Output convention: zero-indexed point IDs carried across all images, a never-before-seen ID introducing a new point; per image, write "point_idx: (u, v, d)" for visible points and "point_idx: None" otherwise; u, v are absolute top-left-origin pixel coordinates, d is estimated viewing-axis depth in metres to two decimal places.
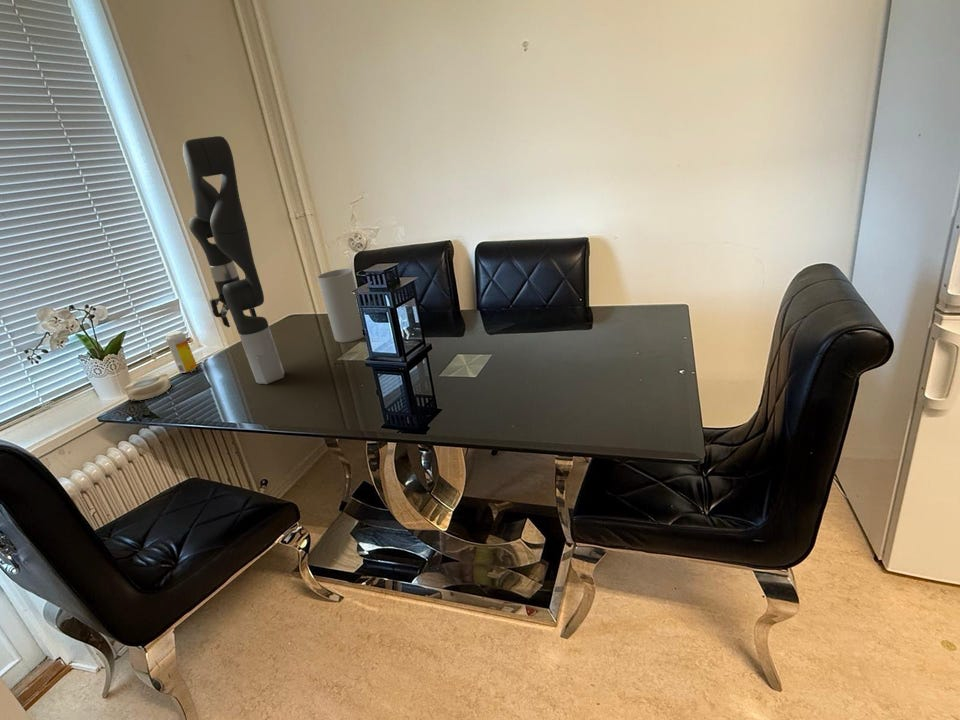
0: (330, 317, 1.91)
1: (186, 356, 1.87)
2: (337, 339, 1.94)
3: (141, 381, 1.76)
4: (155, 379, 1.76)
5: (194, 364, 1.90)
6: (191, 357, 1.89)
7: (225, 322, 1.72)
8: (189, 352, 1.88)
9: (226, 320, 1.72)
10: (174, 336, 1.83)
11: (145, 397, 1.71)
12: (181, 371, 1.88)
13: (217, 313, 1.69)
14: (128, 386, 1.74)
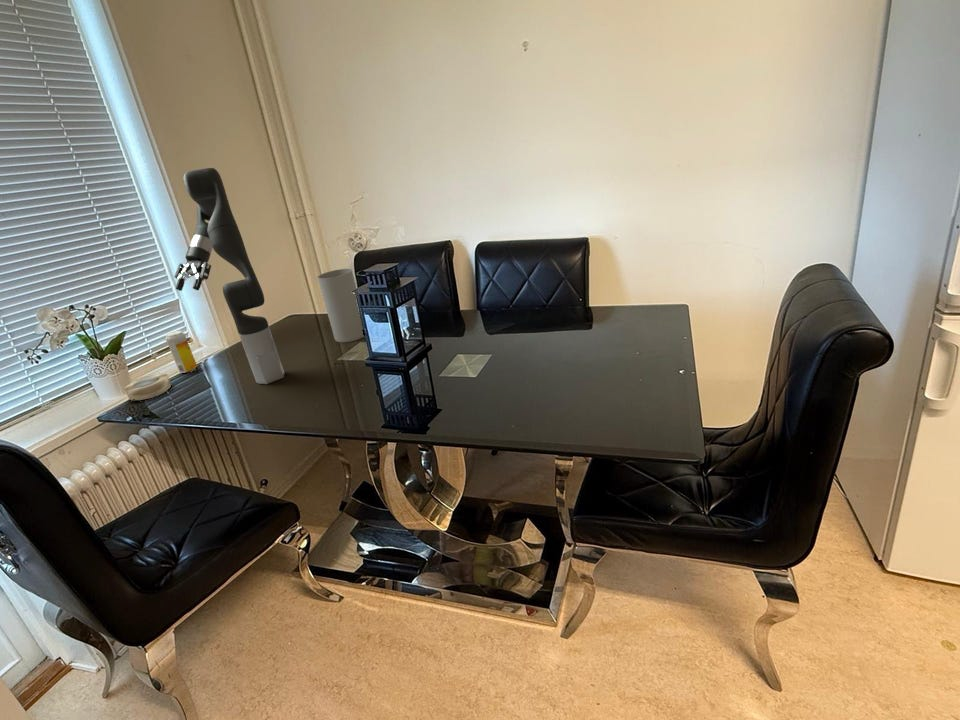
0: (330, 317, 1.91)
1: (186, 356, 1.87)
2: (337, 339, 1.94)
3: (141, 381, 1.76)
4: (155, 379, 1.76)
5: (194, 364, 1.90)
6: (191, 357, 1.89)
7: (177, 284, 1.92)
8: (189, 352, 1.88)
9: (178, 282, 1.91)
10: (174, 336, 1.83)
11: (145, 397, 1.71)
12: (181, 371, 1.88)
13: (176, 274, 1.93)
14: (128, 386, 1.74)
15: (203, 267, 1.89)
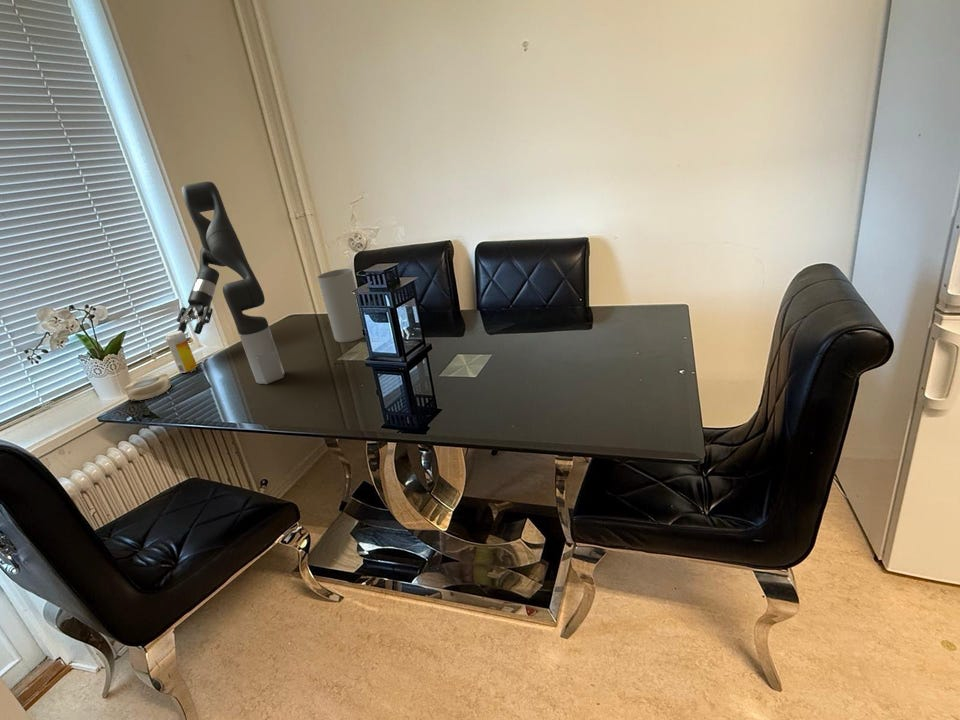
0: (330, 317, 1.91)
1: (186, 356, 1.87)
2: (337, 339, 1.94)
3: (141, 381, 1.76)
4: (155, 379, 1.76)
5: (194, 364, 1.90)
6: (191, 357, 1.89)
7: (179, 327, 1.93)
8: (189, 352, 1.88)
9: (180, 326, 1.92)
10: (174, 336, 1.83)
11: (145, 397, 1.71)
12: (181, 371, 1.88)
13: (178, 318, 1.94)
14: (128, 386, 1.74)
15: (205, 311, 1.90)
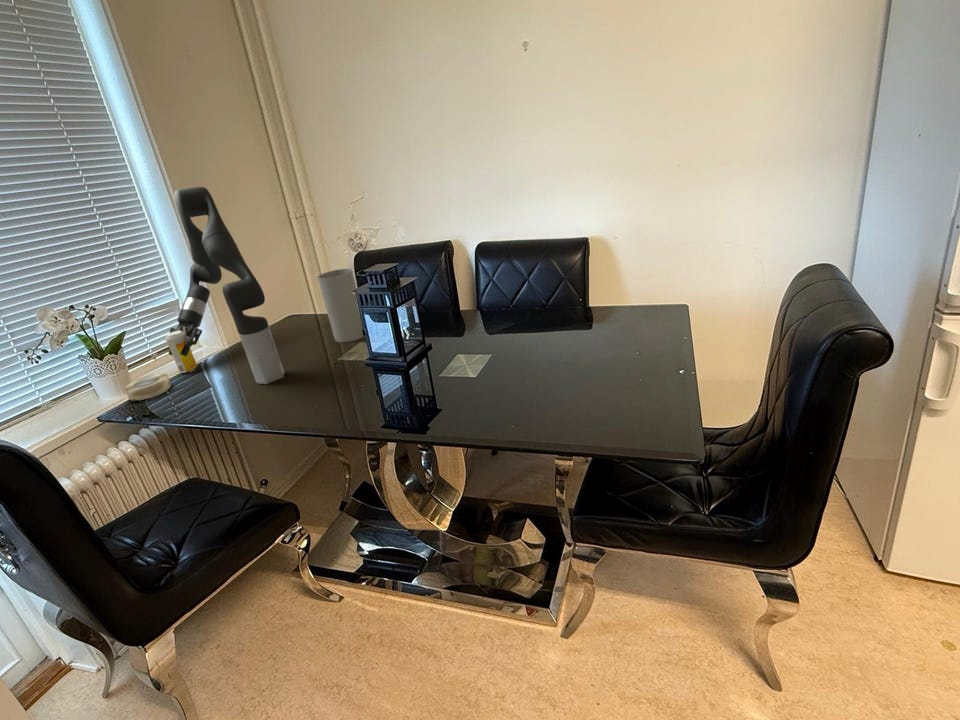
0: (330, 317, 1.91)
1: (187, 356, 1.87)
2: (337, 339, 1.94)
3: (141, 381, 1.76)
4: (155, 379, 1.76)
5: (194, 364, 1.90)
6: (191, 357, 1.89)
7: None
8: (189, 352, 1.88)
9: None
10: (174, 336, 1.83)
11: (145, 397, 1.71)
12: (181, 371, 1.88)
13: None
14: (128, 386, 1.74)
15: (193, 333, 1.86)
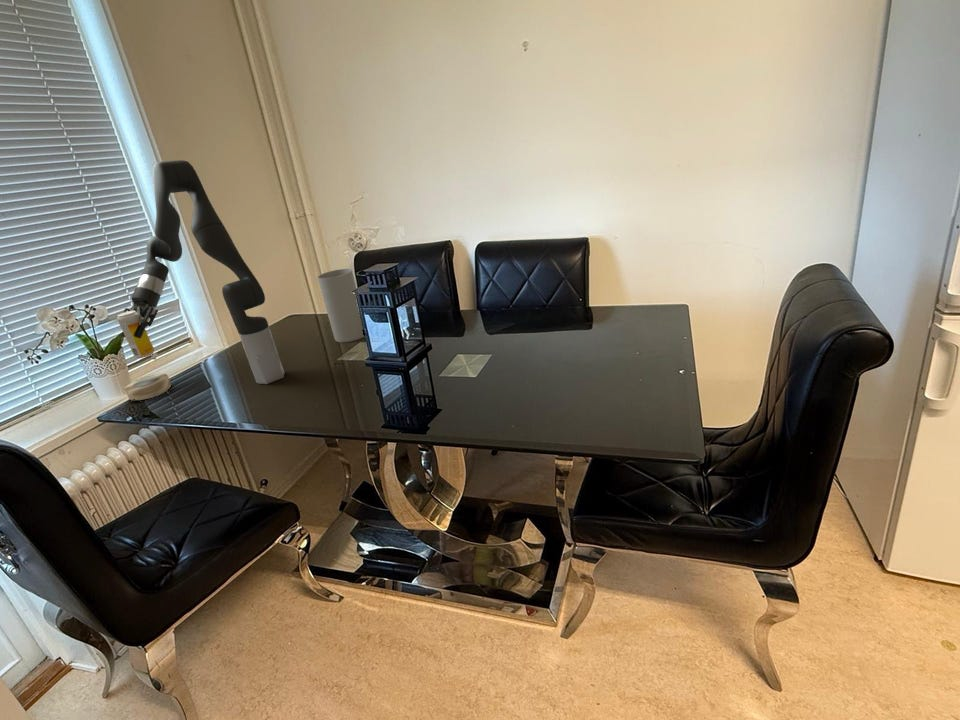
0: (330, 317, 1.91)
1: (141, 338, 1.71)
2: (337, 339, 1.94)
3: (141, 381, 1.76)
4: (155, 379, 1.76)
5: (150, 347, 1.74)
6: (147, 339, 1.73)
7: None
8: (144, 334, 1.72)
9: None
10: (126, 316, 1.67)
11: (145, 397, 1.71)
12: (135, 355, 1.72)
13: None
14: (128, 386, 1.74)
15: (147, 313, 1.70)
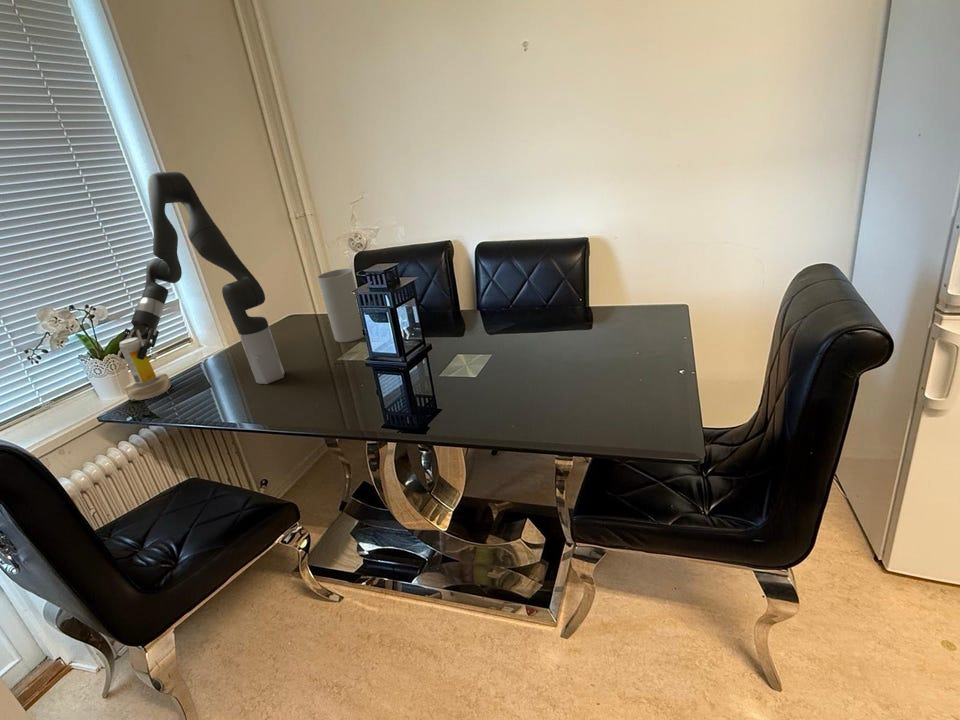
0: (330, 317, 1.91)
1: (143, 365, 1.71)
2: (337, 339, 1.94)
3: None
4: (155, 379, 1.76)
5: (152, 374, 1.74)
6: (148, 366, 1.73)
7: (121, 352, 1.72)
8: (146, 361, 1.72)
9: None
10: (128, 343, 1.68)
11: (145, 397, 1.71)
12: (137, 381, 1.72)
13: None
14: (128, 386, 1.74)
15: (149, 334, 1.70)
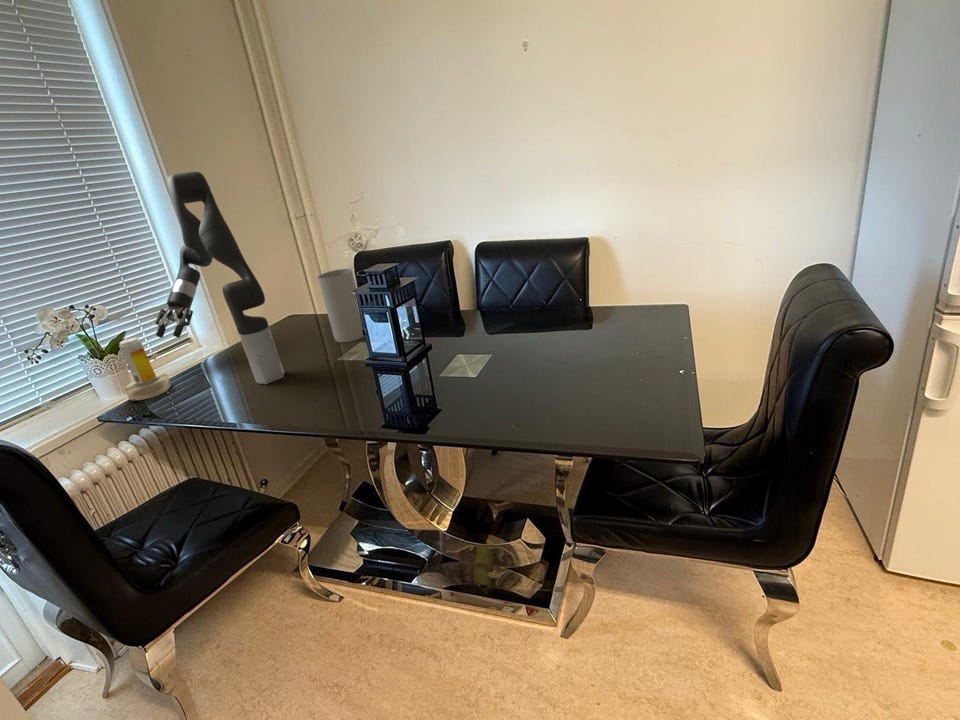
0: (330, 317, 1.91)
1: (143, 365, 1.71)
2: (337, 339, 1.94)
3: None
4: (155, 379, 1.76)
5: (152, 374, 1.74)
6: (148, 366, 1.73)
7: (157, 330, 1.84)
8: (146, 361, 1.72)
9: (158, 329, 1.84)
10: (128, 343, 1.68)
11: (145, 397, 1.71)
12: (137, 381, 1.72)
13: (157, 320, 1.85)
14: (128, 386, 1.74)
15: (185, 313, 1.81)
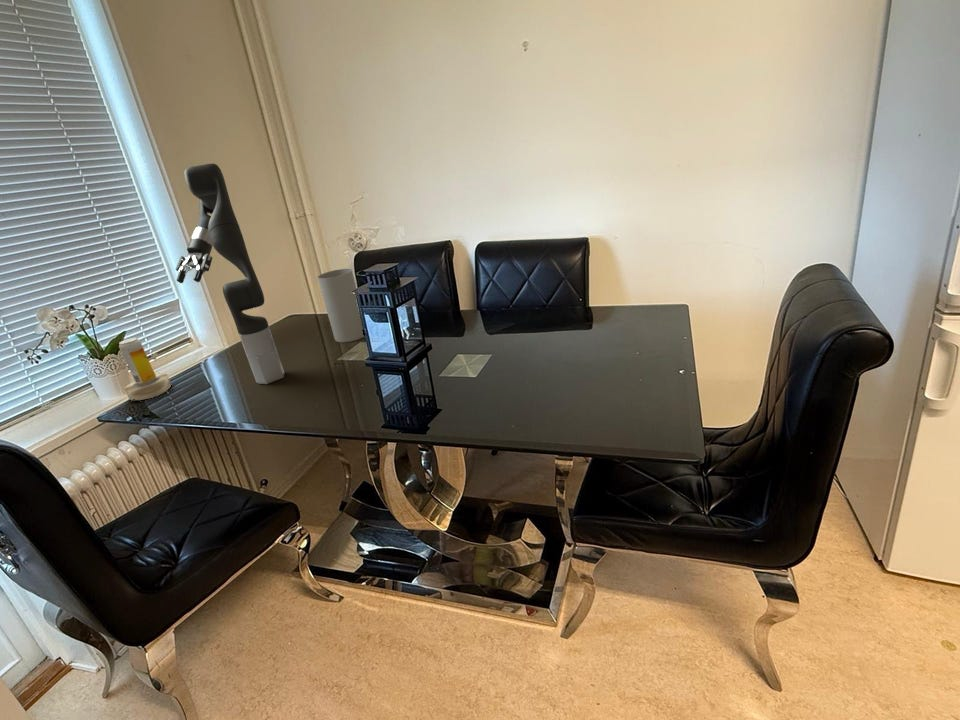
0: (330, 317, 1.91)
1: (142, 365, 1.71)
2: (337, 339, 1.94)
3: None
4: (155, 379, 1.76)
5: (151, 374, 1.74)
6: (148, 366, 1.73)
7: (178, 276, 1.89)
8: (145, 361, 1.72)
9: (179, 274, 1.89)
10: (128, 344, 1.67)
11: (145, 397, 1.71)
12: (137, 382, 1.72)
13: (177, 267, 1.91)
14: (128, 386, 1.74)
15: (204, 259, 1.87)
